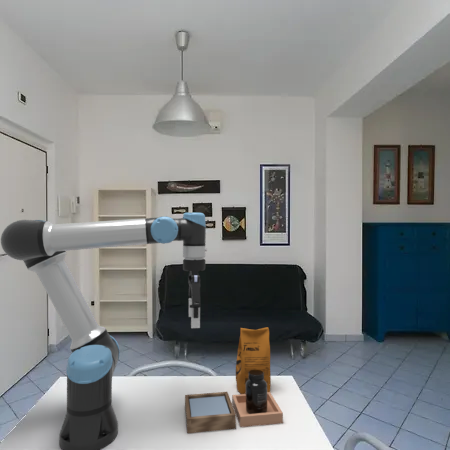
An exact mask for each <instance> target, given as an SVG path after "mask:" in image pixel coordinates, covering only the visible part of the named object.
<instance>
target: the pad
mask: <svg viewBox="0 0 450 450" xmlns="http://www.w3.org/2000/svg"><path fill="white" fill-rule="evenodd" d="M189 404H190V413H191V417H196V416H207V415H218V414H229V413H230V412H229V409H228V406H227V403H226V400H225V397H224V396H218V397H206V398H193V399H189Z"/></svg>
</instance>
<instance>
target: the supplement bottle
mask: <svg viewBox="0 0 450 450" xmlns="http://www.w3.org/2000/svg"><path fill="white" fill-rule="evenodd" d="M248 378H249V379H248V380H247V381H246V411H247V412H248V413H249V414H257V413H266V412H267V383H266V381H265V380H264V372H263V371H261V370H251V371H249V376H248Z"/></svg>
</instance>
